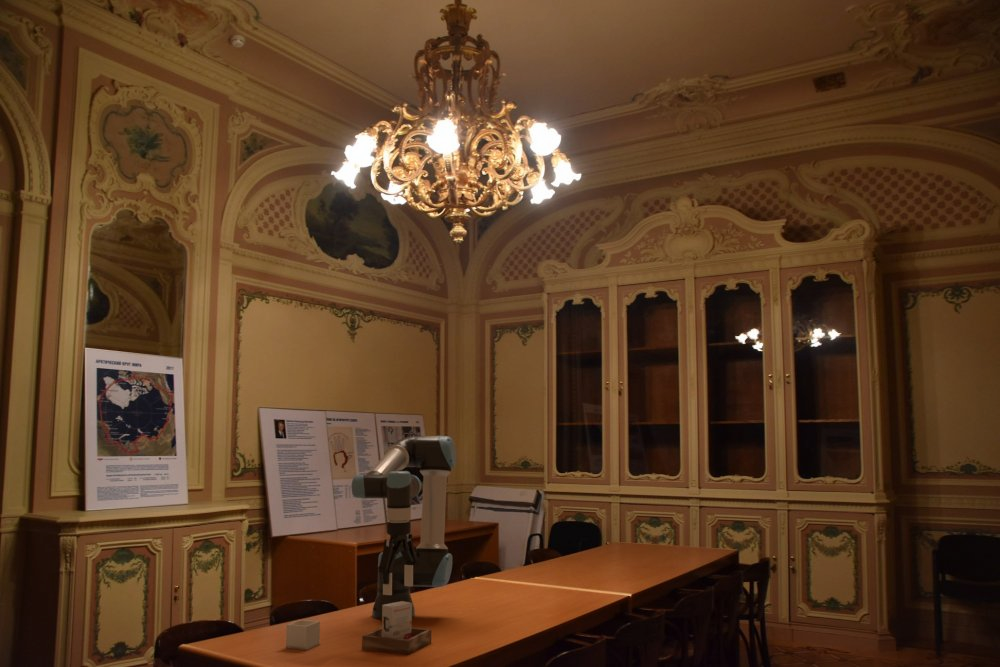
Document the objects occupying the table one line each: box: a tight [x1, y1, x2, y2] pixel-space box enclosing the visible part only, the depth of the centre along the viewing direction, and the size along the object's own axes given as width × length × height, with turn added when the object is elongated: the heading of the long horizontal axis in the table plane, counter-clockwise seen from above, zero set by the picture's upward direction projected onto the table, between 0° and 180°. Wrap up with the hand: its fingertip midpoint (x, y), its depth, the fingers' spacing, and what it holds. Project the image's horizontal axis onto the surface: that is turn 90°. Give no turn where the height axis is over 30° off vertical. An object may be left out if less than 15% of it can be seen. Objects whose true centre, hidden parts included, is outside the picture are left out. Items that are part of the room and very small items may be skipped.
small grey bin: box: [285, 619, 321, 651], centre depth 256 cm, size 7×7×7 cm
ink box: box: [381, 601, 413, 640], centre depth 256 cm, size 9×5×12 cm, turn 138°
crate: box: [361, 627, 432, 656], centre depth 256 cm, size 15×16×4 cm
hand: (398, 590), depth 258 cm, fingers open, 13 cm apart
